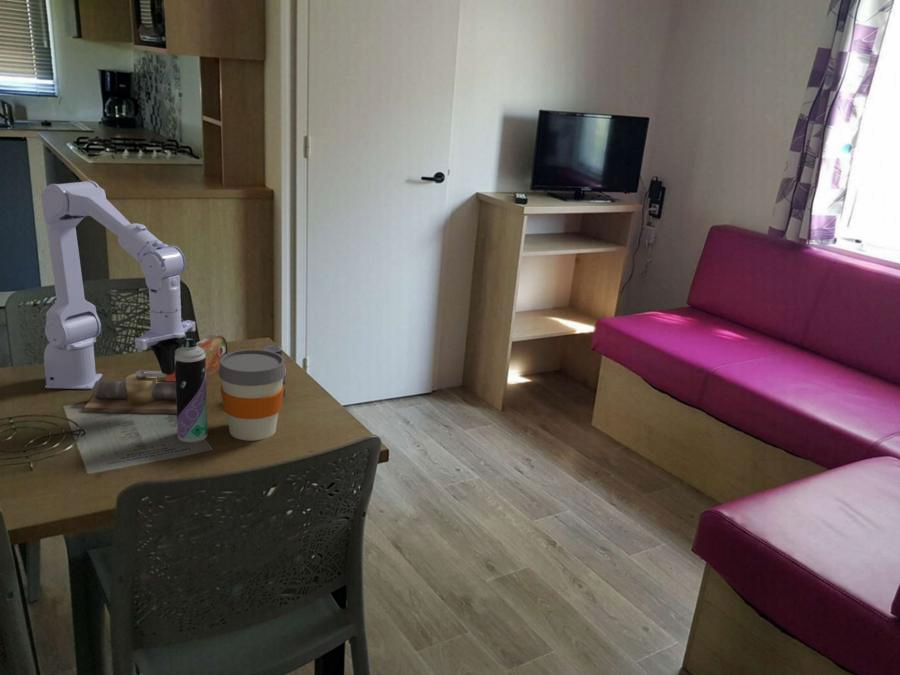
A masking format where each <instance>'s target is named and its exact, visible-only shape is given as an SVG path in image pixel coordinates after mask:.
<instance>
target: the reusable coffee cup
mask: <svg viewBox="0 0 900 675" xmlns="http://www.w3.org/2000/svg"><path fill="white" fill-rule="evenodd" d="M281 355H282V354H281ZM281 355H279V354H277V353H275V352H272V351H267V350H263V349H253V348H252V349H240V350H235V351H232V352H227V354H226V355H224V356H223V357H222V358H221V359H220V367H219V371H218V376H219V378H220V380H221V386H220V394H221V400H222V406H223V411H224V412H225V413H226V416H227V422H228V431H229V434H230V435H231V436H232V437H233V438H235V439H238V440H242V441H252V442H253V441H260V440H265V439H268V438H271V437H272V436H273V435H274V434H275V433H276V431H277V425H278V424H277V423H278V418H279V412H280V411H281V410H282V404H283V398H284V397H283V391H284V385H283V384H282V383H283V377H284V376H285V373H286V374H287V371H286V372H285V363H284V358H285V357H284V356H283V355H282V356H283V357H284V358H283V357H282V356H281Z"/></svg>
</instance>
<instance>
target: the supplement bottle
mask: <svg viewBox="0 0 900 675" xmlns="http://www.w3.org/2000/svg"><path fill="white" fill-rule="evenodd" d="M262 350H267V351H272V352H275V353H277V354H279V355H281V356H282V357H283V358H284V363H285V372H286V373H285V376H284V377H283V383H282V384H283V385H284V391H283V398H284V397H285V396H286V384H287V383H286V380H287V379H286V376H287V375H286V374H287V371H286V370H287V364H286V363H287V360H286V358H285V356H283V355H282V347H281V346H279V345H278V346H277V345H267V346H264V347H263V348H262Z"/></svg>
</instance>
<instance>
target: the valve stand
mask: <svg viewBox="0 0 900 675" xmlns="http://www.w3.org/2000/svg"><path fill="white" fill-rule="evenodd" d="M157 378H158V377H146V378H144V379H137V378H136V373H132V374H130V375H128V376H126V377H125V381H123V380H122V381H118V380H116V381H115V380H98V381H96V382H95V385H94V387H93V396H91V398H90V399H89V401H88V402H87V403H86V404H85V406H84V408H83V409H84V413H114V414H115V413H121V414H122V413H123V414H124V413H125V414H126V413H127V414H130V413H131V414H173V415H174V414H176V415H177V406H176V382H167V381H165V382H162V381H161V382H160V381H159V382H158V379H157Z"/></svg>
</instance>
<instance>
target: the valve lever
mask: <svg viewBox="0 0 900 675" xmlns="http://www.w3.org/2000/svg"><path fill="white" fill-rule="evenodd" d="M135 374H136V378H137V379H144V378H146V377H157V378H165V382H175V372H174V373H173V374H171V375H167V374H163V373H162V371H161V370H144V369H139V370H136V371H135Z"/></svg>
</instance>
